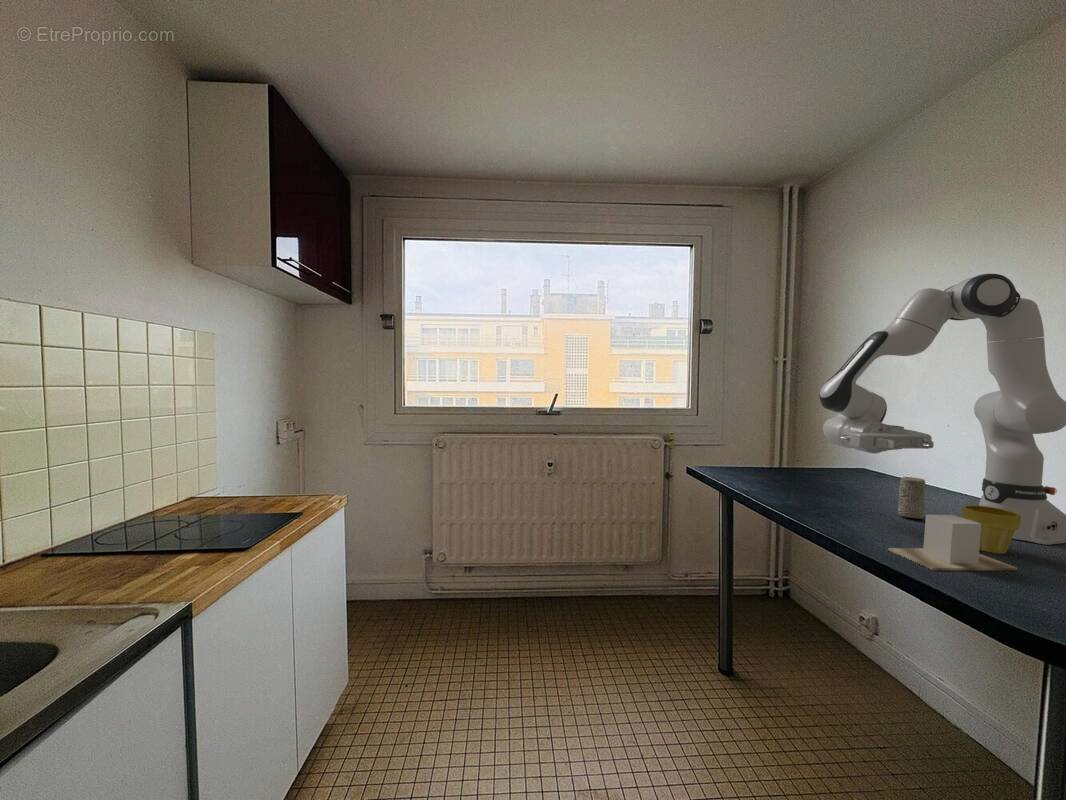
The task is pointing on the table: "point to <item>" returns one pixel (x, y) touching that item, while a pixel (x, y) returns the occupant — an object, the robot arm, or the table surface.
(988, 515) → the plant pot
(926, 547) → the plain grey box
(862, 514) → the table surface
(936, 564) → the cork mat
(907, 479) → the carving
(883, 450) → the robot arm
